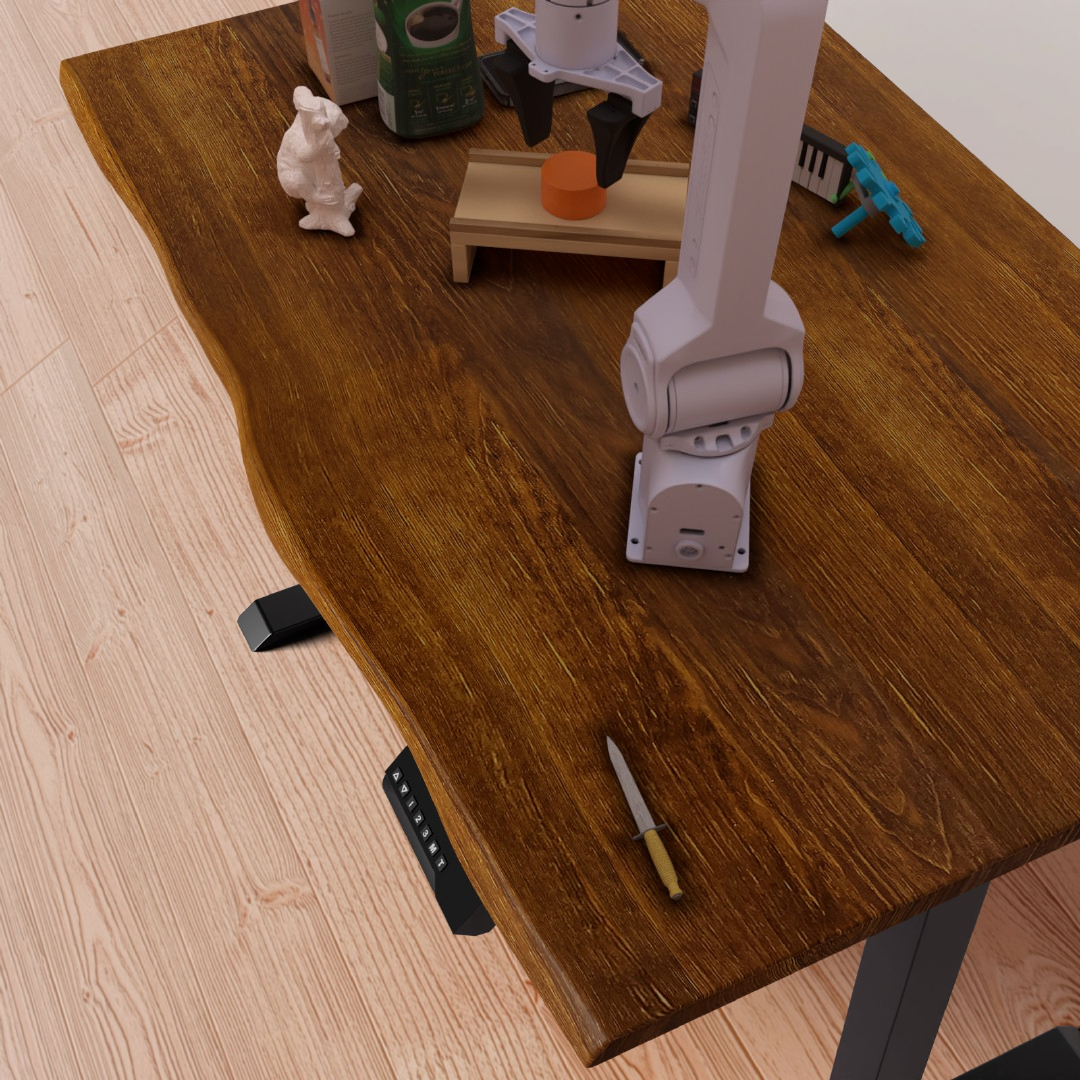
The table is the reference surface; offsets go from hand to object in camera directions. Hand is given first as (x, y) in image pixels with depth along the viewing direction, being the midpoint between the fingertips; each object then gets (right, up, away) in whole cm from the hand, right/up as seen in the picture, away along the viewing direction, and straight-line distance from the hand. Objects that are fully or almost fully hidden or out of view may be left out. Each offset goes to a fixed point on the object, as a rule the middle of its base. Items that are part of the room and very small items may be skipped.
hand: (573, 161), depth 89 cm
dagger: (+3, -45, -23) cm, 51 cm away
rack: (0, -5, +7) cm, 9 cm away
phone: (-1, +16, +24) cm, 29 cm away
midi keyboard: (+17, +5, +15) cm, 23 cm away
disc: (0, -2, +3) cm, 4 cm away
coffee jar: (-13, +10, +19) cm, 25 cm away
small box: (-21, +15, +23) cm, 34 cm away
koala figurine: (-21, -2, +10) cm, 23 cm away
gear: (+25, -3, +9) cm, 27 cm away
